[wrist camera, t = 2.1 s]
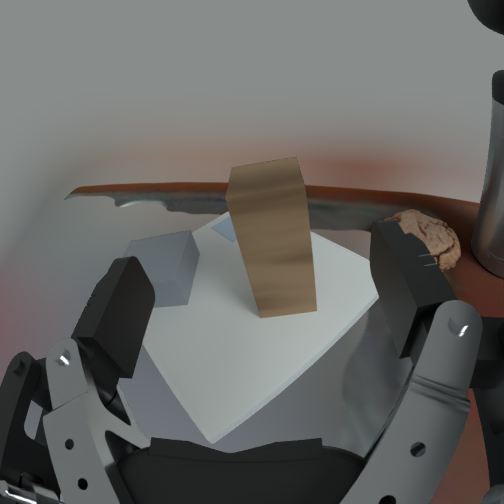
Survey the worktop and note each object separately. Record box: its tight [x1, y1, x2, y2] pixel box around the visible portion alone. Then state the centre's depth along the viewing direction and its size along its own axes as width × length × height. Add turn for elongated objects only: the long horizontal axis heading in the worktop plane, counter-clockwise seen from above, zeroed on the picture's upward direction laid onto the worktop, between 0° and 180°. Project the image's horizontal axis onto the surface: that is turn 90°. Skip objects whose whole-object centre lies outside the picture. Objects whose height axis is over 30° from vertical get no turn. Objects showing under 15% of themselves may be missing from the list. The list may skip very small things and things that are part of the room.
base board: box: [123, 211, 379, 444], centre depth 29 cm, size 22×24×4 cm
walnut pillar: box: [225, 157, 317, 318], centre depth 24 cm, size 5×5×12 cm
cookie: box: [384, 209, 461, 272], centre depth 29 cm, size 10×11×3 cm
